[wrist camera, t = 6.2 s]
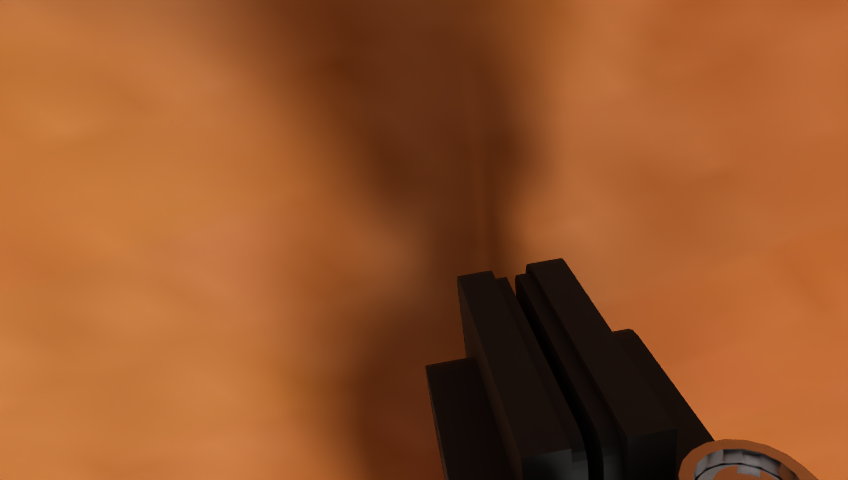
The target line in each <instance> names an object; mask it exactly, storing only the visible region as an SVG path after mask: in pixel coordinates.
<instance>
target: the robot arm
mask: <svg viewBox="0 0 848 480" xmlns="http://www.w3.org/2000/svg"><path fill="white" fill-rule="evenodd" d="M457 286H458V294H459V302H460V310H461V318H462V326H463V333H464V341H465V349H466V357H467V358H465V359H459V360H454V361H448V362H443V363H437V364H432V365H426V366H425V367H426V375H427V381H428V387H429V393H430V400H431V406H432V412H433V418H434V423H435V429H436V435H437V440H438V446H439V451H440V456H441V462H442V467H443V472H444V477H445V480H818V479H817V478H816V477H815V476H814V475H813V474H812V473H811V472H809V471H808V470H807V469H806V468H805V467H804V466H802V465H801V464H800V463H798V462H797V461H796V460H794V459H793V458H791V457H790V456H789V455H787V454H785V453H783V452H781V451H779V450H776V449H774V448H772V447H770V446H768V445H764V444H760V443H756V442H752V441H747V440H732V439H723V440H718V441H715V440H714V439H713V438H712V436H711V435H710V434H709V432H708V431H707V430H706V428H705V427H704V425H703V424H702V423H701V421H700V420H699V419H698V417H697V416H696V414H695V413H694V412H693V410H692V409H691V408H690V406H689V405H688V403H687V402H686V401H685V399H684V398H683V397H682V395H681V394H680V392H679V391H678V390H677V388H676V387H675V386H674V384H673V383H672V382H671V380H670V379H669V377H668V376H667V375H666V373H665V372H664V371H663V369H662V368H661V366H660V365H659V364H658V362H657V361H656V360H655V358H654V357H653V355H652V354H651V353H650V351H649V350H648V349H647V347H646V346H645V344H644V343H643V342H642V340H641V339H640V338H639V336H638V335H637V334H636V333H635V332H634V331H633V330H630V329H625V330H619V331H614V332H612V331H611V329H610V328H609V326H608V325H607V323H606V322H605V320H604V319H603V317H602V316H601V314H600V313H599V311H598V310H597V309H596V307H595V306H594V304H593V303H592V301H591V300H590V298H589V297H588V295H587V294H586V292H585V291H584V289H583V288H582V286H581V285H580V283H579V282H578V280H577V279H576V277H575V276H574V274H573V273H572V271H571V270H570V268H569V267H568V265H567V264H566V262H565V261H564V260H563V259H562V258H559V259H554V260H548V261H542V262H537V263H531V264H527V266H526V274H520V275H516V277H515V288H516V296H515V294H514V291H513V289H512V287H511V285H510V283H509V281H508V279H507V278H506V277H503V278H497V279H495V276H494V274H493V272H492V271H485V272H479V273H474V274H468V275H462V276H457Z"/></svg>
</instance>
